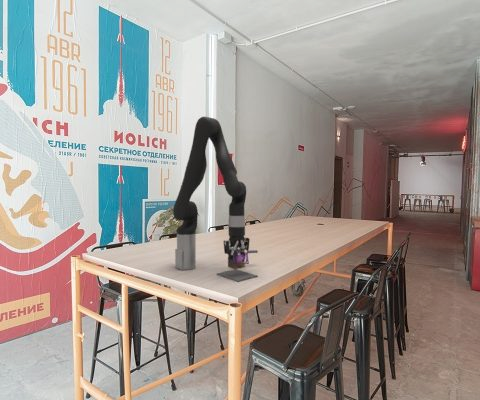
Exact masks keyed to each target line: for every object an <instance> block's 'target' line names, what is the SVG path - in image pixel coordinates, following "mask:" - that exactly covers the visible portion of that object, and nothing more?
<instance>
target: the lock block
mask: <svg viewBox="0 0 480 400" xmlns="http://www.w3.org/2000/svg"><path fill="white" fill-rule="evenodd" d="M245 262H246V259H245V260H244V261H241V262H237V264H236V265H230V263H229V261H228V260H227V267H228V268H231V269H233V270H234V269H238V270H239V269H242V268H245V267H246V264H240V263H245Z"/></svg>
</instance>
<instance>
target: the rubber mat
mask: <svg viewBox="0 0 480 400" xmlns="http://www.w3.org/2000/svg"><path fill="white" fill-rule="evenodd" d="M216 275H217V276H220V277H222V278H225V279H228V280H231V281H234V282H237V283H240V282H242V281H243V282H244V281H247V280H250V279H254V278H258V275H257V274H253V273H250V272H248V271H244V270H241V269H239V268H238V269H234V268H233V269H230V270H226V271H221V272H218V273H217V272H216Z"/></svg>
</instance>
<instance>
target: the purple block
mask: <svg viewBox="0 0 480 400" xmlns="http://www.w3.org/2000/svg"><path fill="white" fill-rule="evenodd" d="M231 251H232V250H230V252H231ZM236 251H238V252H239V253H241V252H242V253H243V252H245V263H240V264H245V265H249V264H250V263H249V262H250V261H249V253H248V252H247V249H239V248H238V249H237V250H235V251H234V253H233V261H232V259H230V265H236V264H237V262H241V261H242V260H243V259H244V258H243V257H244V256H243V255H242V254H238V255H237V257H236ZM229 257H230V256H229Z"/></svg>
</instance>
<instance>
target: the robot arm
mask: <svg viewBox="0 0 480 400" xmlns="http://www.w3.org/2000/svg"><path fill="white" fill-rule="evenodd" d="M220 123H221V122H219V120H217V119H216V118H215V117H209V116H202V117H199V118H198V119H197V121H196V123H195V128H194V132H193V133H194V134H193V138H192V139H193V140H192V145H191V148H190V152H189V157H188V160H187V163H186V166H185V171H184V175H183V179H182V182H181V186H180V188H179V192H178V195H177V197H176V199H175V202H174V205H173V209H172V215H173V218H174V219H175V220H176V221H182V223H181V225H179V226H178V227H177V229H176V248H175V249H174V251H175V256H174V257H175V259H174V260H175V261H174V262H175V264H174V265H175V266H174V267H175V269H177V270H180V271H188V270H189V271H190V270H194V269H196V267H197V265H196V264H197V261H196V260H197V258H196V257H197V256H196V251H197V250H196V249H197V247H196V246H197V244H196V243H197V242H196V239H197V236H196V235H197V233H196V230H197V228H198V215H199V214H198V206H197V204H196V203H195V202H194V201H190V200H191V198H192V196H193V194H194V193H195V192H196V190H197V189H198V188H199V186H200V185H201V183H202V182H203V180H204V178H205V175H206V174H205V173H206V171H207V166H208V164H207V163H208V162H207V155H206V154H207V153H206V149H207V144H208V141H209V140H210V141H211V143H212V145H213V147H214V151H215V162H216V164H217V167H218V170H219V173H220V174H221V176H222V180H223V184H224V188H225V191H226V193H227V194H228V195H229V196H230V197H231V202H230V203H229V205H228V236H229V237H228V240H225V239H224V240H223V249H224V250H223V251H224V254H226V255H228V256H227V262H228V261H229V263H230V259H232V261H233V253H234V251H235V250H236V248H238V249H247V251H250V249H249V248H250V238H249V237H245V236H246V218H245V203H246V198H247V197H246V196H247V186H246V185H245V183H244V182H242V181H239V180H238V177H237V174H238V173H237V172H238V170H237V169H236V165H235V163H234V161H233V160H232V156H231V155H230V153H229V149H228V147H227V144H226V140H225V137H224V133H223V130H222V126H221V124H220ZM230 250H232V251H231V252H230ZM240 254H242V255H243V256H244V257H243V258H244V259H243V260H242V261H244V260H245V261H246V257H245V252H243V253H242V252H241V253H240ZM229 256H230V257H229Z"/></svg>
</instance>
